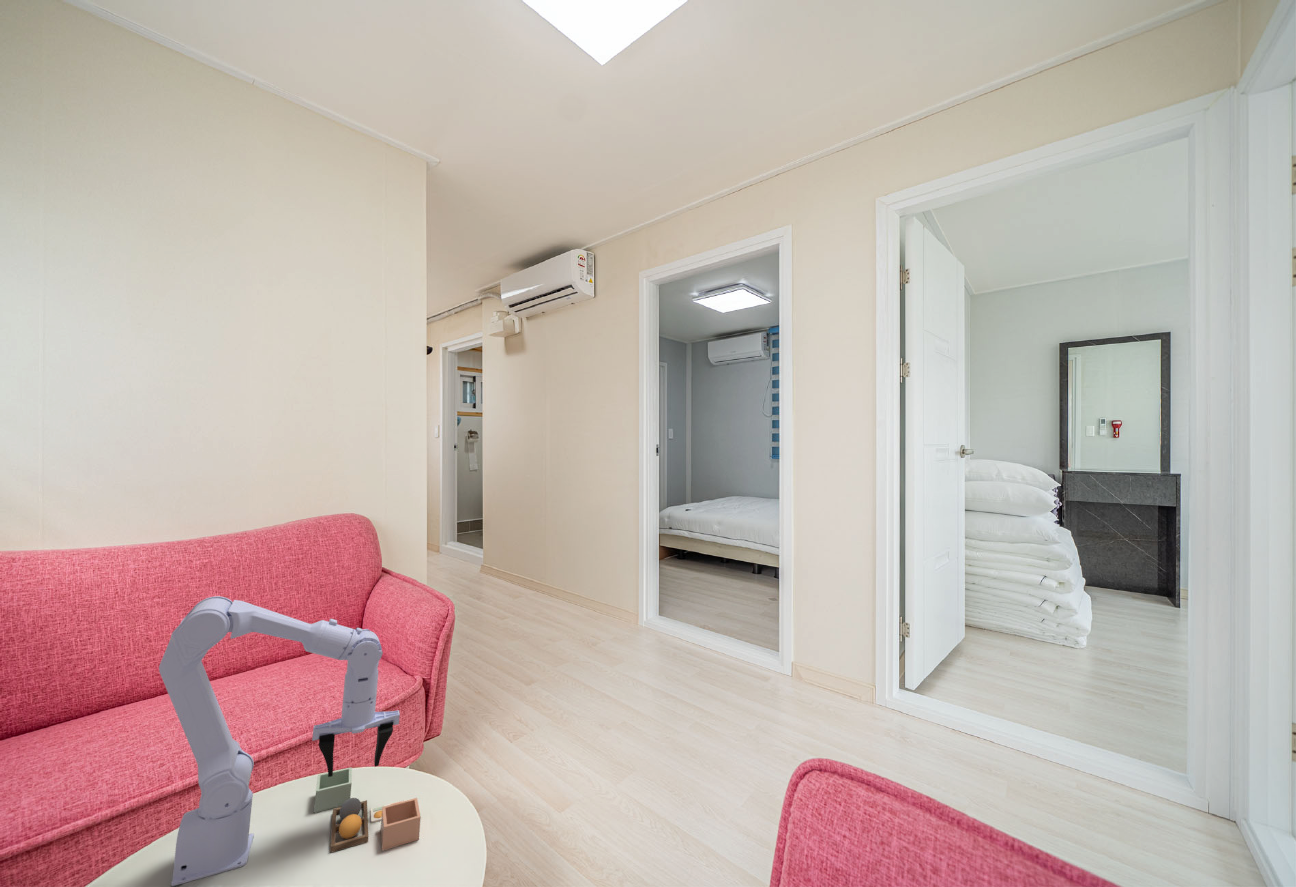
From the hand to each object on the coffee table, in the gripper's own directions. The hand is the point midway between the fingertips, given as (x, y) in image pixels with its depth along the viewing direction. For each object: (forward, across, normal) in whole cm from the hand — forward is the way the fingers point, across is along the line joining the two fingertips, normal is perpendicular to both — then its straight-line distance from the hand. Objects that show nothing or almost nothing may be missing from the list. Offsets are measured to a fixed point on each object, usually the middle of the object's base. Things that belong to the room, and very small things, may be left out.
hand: (353, 768), depth 96 cm
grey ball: (+8, 0, 0) cm, 8 cm away
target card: (+9, +6, -1) cm, 11 cm away
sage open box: (+9, -3, +8) cm, 13 cm away
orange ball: (+8, 0, -5) cm, 9 cm away
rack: (+9, 0, -3) cm, 10 cm away
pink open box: (+9, +8, -9) cm, 15 cm away
